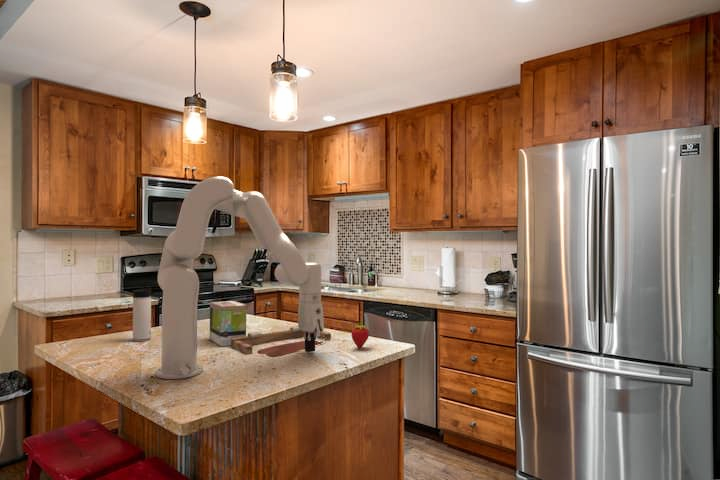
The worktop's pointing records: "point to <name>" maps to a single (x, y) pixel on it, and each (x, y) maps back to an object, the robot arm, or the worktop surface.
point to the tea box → (227, 321)
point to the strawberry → (360, 335)
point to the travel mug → (142, 314)
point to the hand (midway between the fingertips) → (310, 351)
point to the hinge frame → (269, 338)
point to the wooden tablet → (284, 349)
